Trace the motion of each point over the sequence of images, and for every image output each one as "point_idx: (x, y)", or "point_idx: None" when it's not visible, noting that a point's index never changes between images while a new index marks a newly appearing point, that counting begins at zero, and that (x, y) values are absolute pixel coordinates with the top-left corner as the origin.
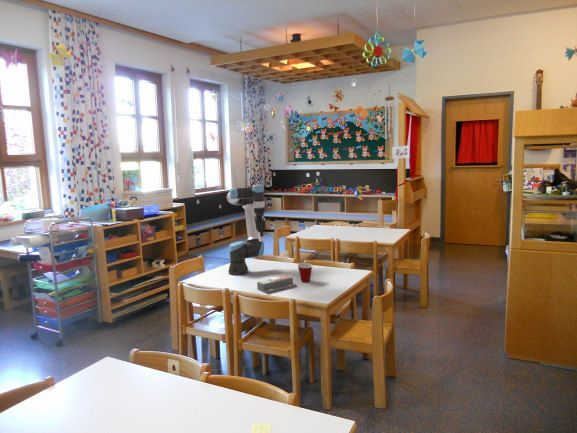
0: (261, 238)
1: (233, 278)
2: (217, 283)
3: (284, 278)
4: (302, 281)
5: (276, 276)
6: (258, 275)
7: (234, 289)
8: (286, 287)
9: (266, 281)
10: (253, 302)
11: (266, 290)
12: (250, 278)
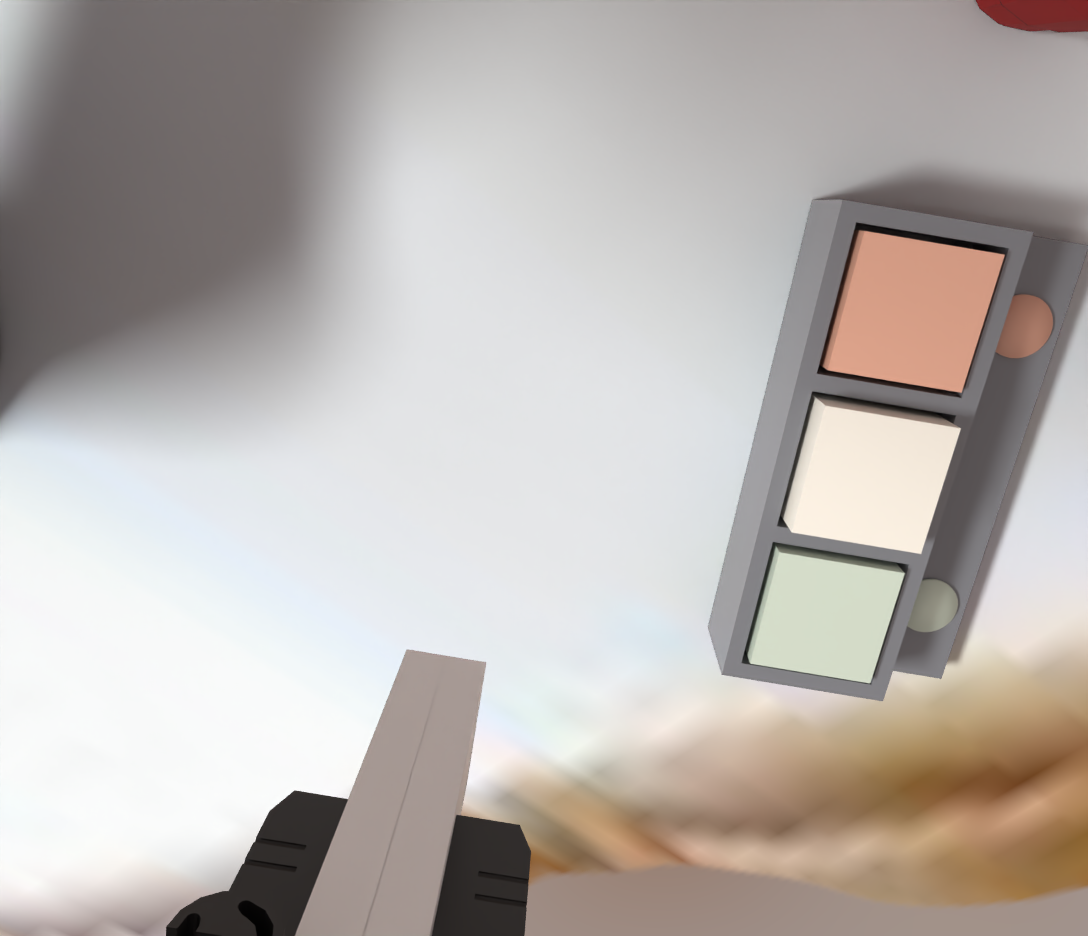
0: (462, 796)
1: (89, 536)
2: (146, 761)
3: (959, 354)
4: (1032, 30)
5: (833, 411)
6: (204, 226)
7: (491, 774)
8: (1028, 411)
9: (831, 606)
10: (992, 892)
11: (900, 651)
12: (251, 396)
